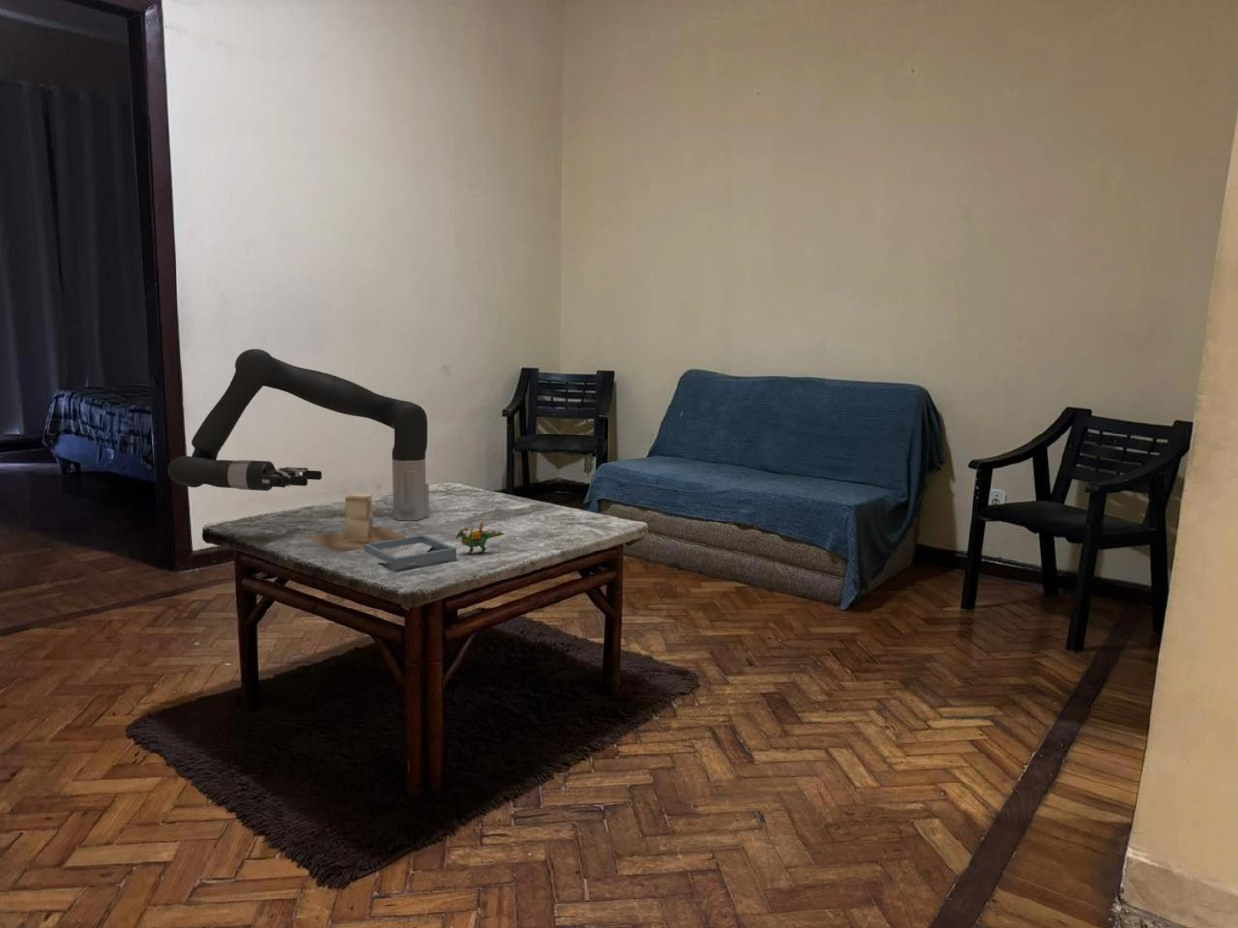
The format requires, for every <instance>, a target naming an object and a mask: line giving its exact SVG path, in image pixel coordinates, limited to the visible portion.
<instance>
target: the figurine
mask: <svg viewBox="0 0 1238 928" xmlns="http://www.w3.org/2000/svg"><path fill="white" fill-rule="evenodd" d="M483 525H484V521H480V526H479V527H478V530H476V531H474V529H473V528H470V530H469V528H468V527H464V528H463V529H459V532H458V533H457V535H456V536H455V539H458V538H461V542H460V543H459V544H460V545H461V546H465V547H469V551H468V552H467V553H466V554H467V555H468V556H470V555H472V553H473V551H474V548H477V547H479V548H481V551H478V553H479V555H485V554H486V549H487V547H486V546H485V544H486V543H487V541H488V539H491V538H492V539H493V538H495V537H501V536H503V535H505V533H503V532H501V531H497V532H496V531H495V530H492V532H491V531H489V530H487V531H486V530H483ZM468 530H469V531H470V534H469V535H468V536H467V534H466V533H467V532H468ZM464 531H465V532H464Z"/></svg>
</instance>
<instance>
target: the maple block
mask: <svg viewBox="0 0 1238 928" xmlns="http://www.w3.org/2000/svg"><path fill="white" fill-rule="evenodd" d="M344 500H345V531H346V541H367V540H369V539H370V538H371V537H373V527H374V526H373V524H374V523H373V522H374V521H373V494H370V493H367V494H365V493H351V494H350V495H348V496H346V497H345V499H344Z"/></svg>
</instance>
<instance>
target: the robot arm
mask: <svg viewBox="0 0 1238 928" xmlns="http://www.w3.org/2000/svg"><path fill="white" fill-rule="evenodd" d="M234 363H235V364H234V368H235V372H234V374H233V376H232V380H231V381H230V382H229V384H228V386H227V388H226V390H225V392H224V393H223V395H222V396H221V397H220V399H219V400H218V401H217V403H216V404H215V405H214V406H213V407H212V409H211V410H210V412H209V413H208V414H207V416H206V417H205V418H204V420H203V422H201V424H200V426H199V428H198V429H197V431H196V433H194V435H193V437H192V439H191V445H192V447H193V448H194V450H193V452H192V455H191V456H188V455H183V456H182V455H180V456H178V457H175V458H174V459H173V460H171V461H170V462H169V464H168V466H167V473H168V477H169V478H170V479H171V480H172V481H173V482H174V483H177V484H179V485H183V486H186V487H188V488H194V489H195V488H199V487H202V486H203V485H209V486H212V487H215V488H216V487H217V488H224V489H225V488H226V489H238V490H243V491H244V490H245V491H259V492H261V491H262V492H264V491H265V492H267V491H270V490H271V489H272V488H273V487H274V488H282V489H284V488H286V487H291V486H296V487H297V486H299V487H306V486H308V485H309V482H308V480H314V481H321V480H322V477H323V476H322V471H320V470H311V469H310V470H309V467H291V466H290V467H288V466H286V467H279V468H277V469H276V467H275V465H274V463H273V462H272V461H269V460H252V459H251V460H249V459H241V460H238V459H237V460H232V459H230V460H229V459H228V460H227V459H218V455H219V453H220V451H221V449H222V448H223V447H224V445H225V443H226V441H227V440H228V438H229V437H230V435H231V433H232V432H233V430H234V428H235V426H236V425H237V423H238V421H239V420H240V418H241V416H242V415H243V413H244V411H245V410H246V408H247V407H248V405H249V404H250V403H251V402H252V400H253V399H254V398H255V396H256V395H258V393H259V391H260V390H261V389H262V388H263V387H265V388H271V389H274V390H278V391H283V392H286V393H288V394H290V395H292V396H295V397H297V398H298V399H301V400H304V401H305V402H308V403H310V404H313V405H315V406H317V407H321V408H324V409H326V410H329V411H332V412H336V413H340V414H343V415H347V416H352V417H353V416H354V417H358V418H359V417H360V418H366V419H370V420H373V421H374V422H378V423H379V424H382V425H385V426H387V427H389V428H391V429H393V430H394V435H393V437H394V441H393V442H394V444H393V447H392V450H391V458H392V459H391V461H392V463H391V466H392V467H391V468H392V469H391V470H392V514H393V515H392V518H393V519H394V520H398V521H418V520H423V519H426V518H428V517H430V504H429V503H430V498H429V497H430V496H429V495H430V494H429V493H430V491H429V490H430V487H429V484H428V483H427V482H426V481H427V480H426V479H427V477H426V473H427V472H426V470H427V469H426V452H427V449H428V448H427V447H428V417H427V413H426V410H424V408H423V407H422V406H420V405H418V404H417V403H414V402H412V401H408V400H403V399H397V398H392V397H388V396H385V395H381V394H379V393H377V392H374V391H372V390H369V389H368V388H366V387H363V386H361V385H359V384H357V383H355V382H353V381H350V380H348V379H345V378H342V377H339V376H336V375H334V374H330V373H326V372H322V371H319V370H314V369H309V368H303V367H299V366H296V365H292V364H290V363H287V362H285V361H282V360H280V359H278V358H276V357H274V356H272V355H271V353H269V352H267V350H263V349H259V348H250V349H247V350H245V351H242V352H241V353H240V354H239V355H238V356H237V357H236V359H235V362H234ZM300 473H302V474H301V475H300Z"/></svg>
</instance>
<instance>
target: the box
mask: <svg viewBox="0 0 1238 928" xmlns="http://www.w3.org/2000/svg"><path fill="white" fill-rule="evenodd" d="M419 543H423V544H425V545H428V546H430V548H429V549H428V550H427V551H426V552H422V553H415V554H410V555H406V556H405V555H404V556H400V557H399V556H398V557H396V556H395V555H392V554H391V553H388V552H387V551H384V550H383V549H388V548H394V547H399V546H406V545H407V546H408V545H413V544H419ZM363 550H364V552H366V553H368V554H369V555H372V556H374V557H377V559H380V560H382V561H383V562H377V564H379V565H380V566H382V567H384V568H387V569H388V570H390V571H392V572H395V573H396V572H397V573H398V572H403V571H408V570H413V569H418V568H424V567H430V566H434V565H440V564H445V563H449V562H450V563H451V562H455V561H457V548H456V547H454V546H452V545H449V544H448V543H445V542H442V541H441V540H437V539H435V538H433V537H430V536H427V535H425V534H420V535H415V536H408V537H407V538H400V539H394V540H388V541H382V542H376V543H370V544H364V548H363ZM413 563H414V564H413Z"/></svg>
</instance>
